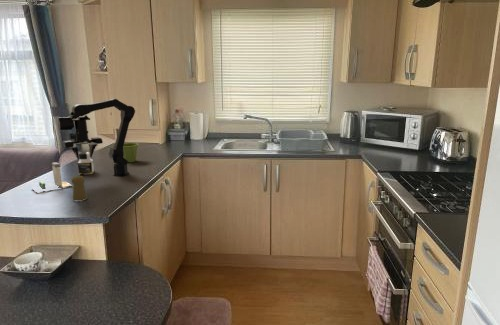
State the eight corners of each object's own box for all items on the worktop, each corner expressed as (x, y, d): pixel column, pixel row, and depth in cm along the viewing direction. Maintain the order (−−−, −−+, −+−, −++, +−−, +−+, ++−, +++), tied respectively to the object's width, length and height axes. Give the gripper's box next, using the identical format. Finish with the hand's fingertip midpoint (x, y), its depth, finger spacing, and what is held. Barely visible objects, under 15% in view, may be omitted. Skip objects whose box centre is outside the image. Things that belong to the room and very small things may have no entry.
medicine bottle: (79, 174, 207) (76, 154, 204) (81, 171, 213) (78, 151, 210) (92, 174, 208) (90, 153, 206) (94, 170, 215) (92, 151, 212)
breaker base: (65, 182, 191) (65, 175, 190) (72, 186, 184) (71, 179, 183) (31, 189, 181) (30, 181, 180) (37, 193, 174) (35, 186, 173)
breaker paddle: (59, 183, 187) (56, 162, 184) (62, 185, 183) (59, 163, 181) (54, 184, 185) (51, 162, 183) (57, 186, 182) (54, 164, 179)
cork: (89, 197, 168) (87, 174, 165) (84, 202, 162) (81, 178, 159) (76, 197, 167) (73, 174, 165) (70, 202, 162) (67, 178, 159)
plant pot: (116, 162, 236) (115, 145, 233) (130, 158, 246) (128, 142, 244) (130, 164, 231) (128, 146, 228) (143, 160, 241) (142, 143, 238)
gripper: (93, 125, 201) (96, 153, 205) (56, 129, 189) (60, 158, 192) (101, 127, 193) (104, 156, 197) (63, 131, 181) (67, 162, 184)
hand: (84, 158), depth 193 cm, fingers open, 6 cm apart
